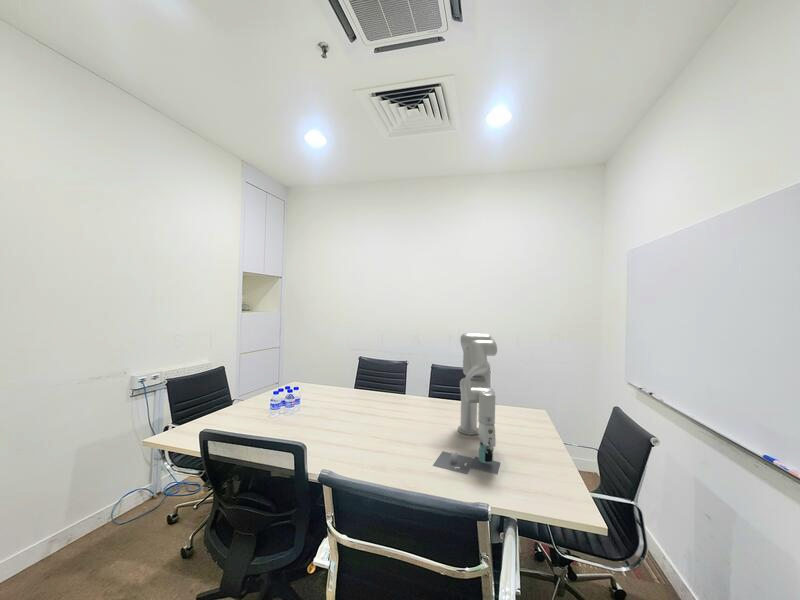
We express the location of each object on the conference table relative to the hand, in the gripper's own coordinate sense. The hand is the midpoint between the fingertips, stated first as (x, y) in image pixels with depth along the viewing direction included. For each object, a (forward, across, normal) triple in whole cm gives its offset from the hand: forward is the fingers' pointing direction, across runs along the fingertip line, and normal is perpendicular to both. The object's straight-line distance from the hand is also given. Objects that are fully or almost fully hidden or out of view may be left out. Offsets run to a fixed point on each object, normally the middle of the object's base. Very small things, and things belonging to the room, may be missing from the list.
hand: (485, 457), depth 144 cm
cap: (+1, 0, 0) cm, 1 cm away
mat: (+4, 0, 0) cm, 4 cm away
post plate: (+4, +3, +14) cm, 15 cm away
